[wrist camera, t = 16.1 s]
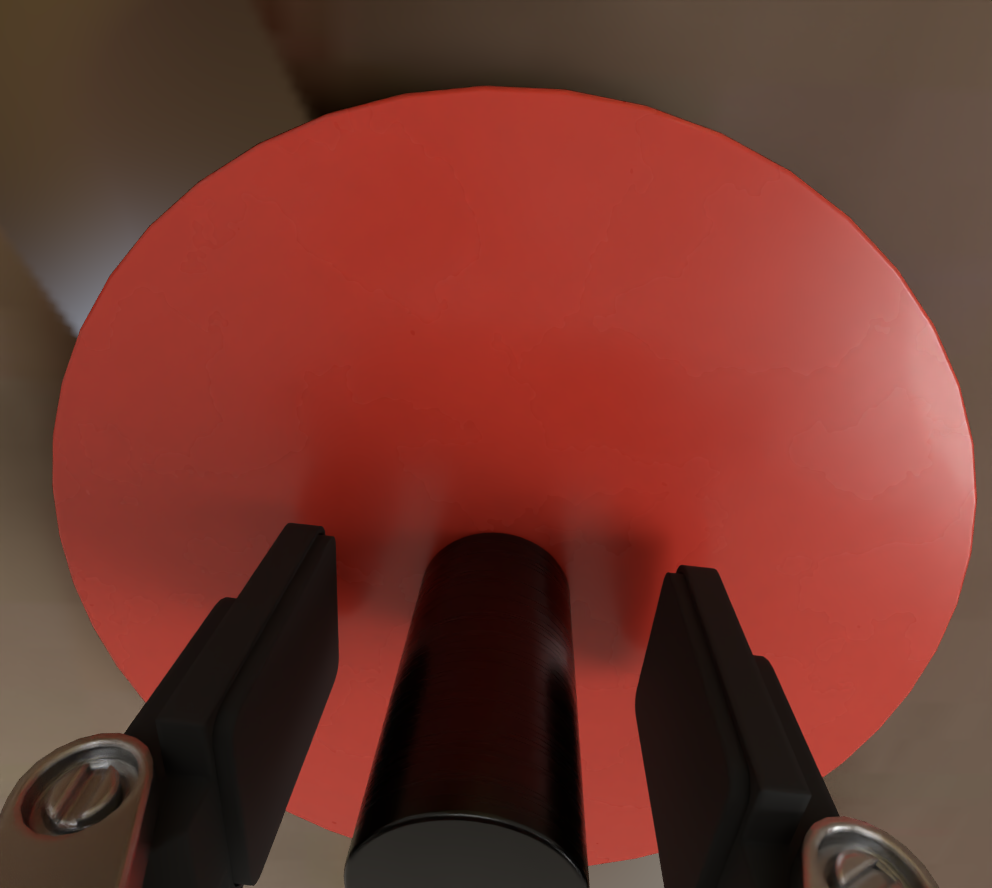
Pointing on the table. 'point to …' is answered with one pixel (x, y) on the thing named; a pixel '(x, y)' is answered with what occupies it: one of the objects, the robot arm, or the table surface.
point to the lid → (516, 454)
